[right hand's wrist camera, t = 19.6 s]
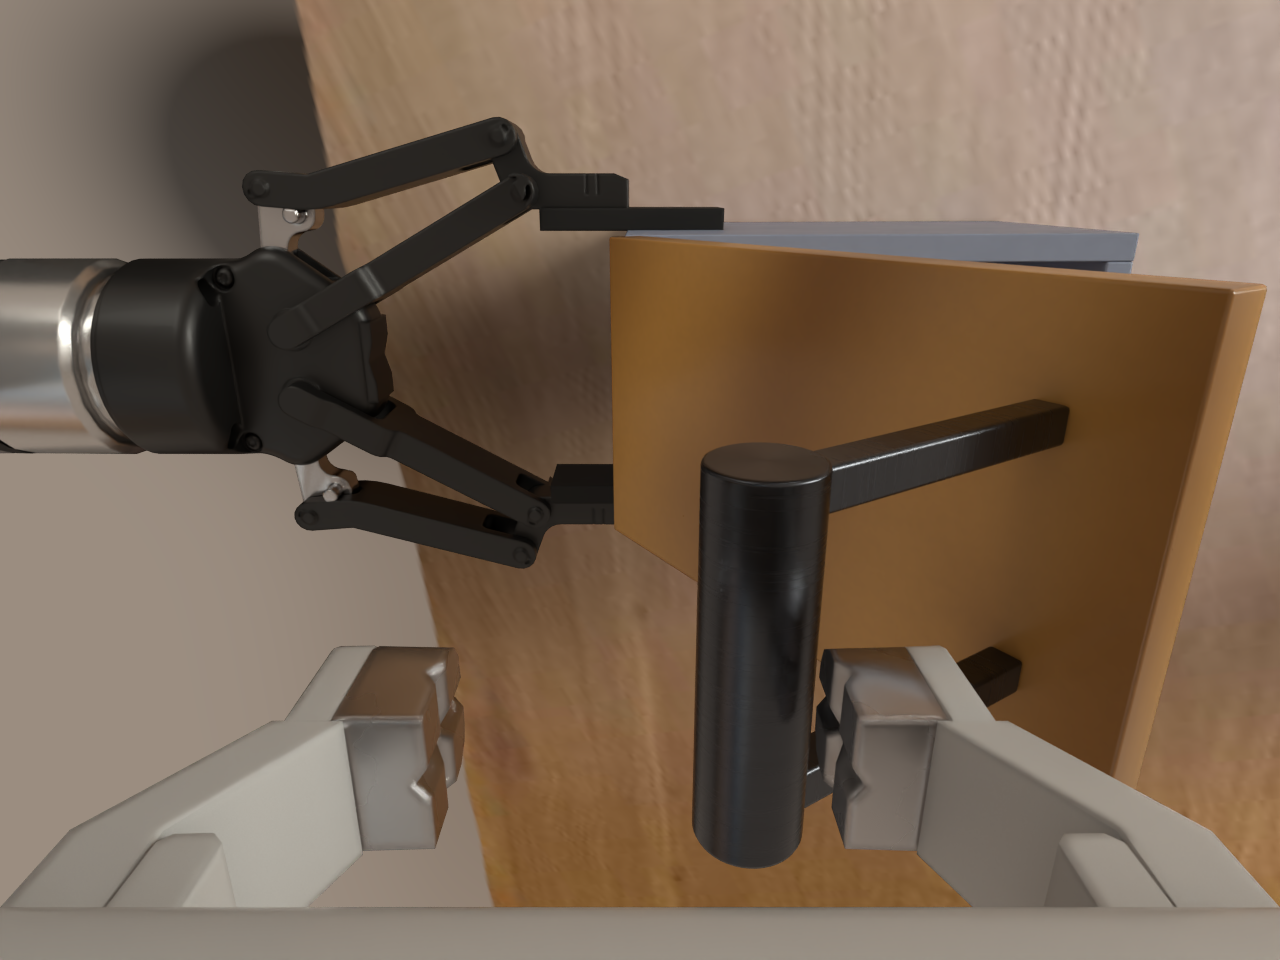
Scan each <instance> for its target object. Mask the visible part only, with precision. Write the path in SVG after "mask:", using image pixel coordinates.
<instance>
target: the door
mask: <svg viewBox="0 0 1280 960" xmlns="http://www.w3.org/2000/svg"><path fill="white" fill-rule="evenodd" d="M1266 291H1267V288H1266V286H1265V285H1263V284H1256V283H1243V282H1230V281H1217V280H1204V279H1191V278H1178V277H1165V276H1152V275H1139V274H1127V273H1114V272H1101V271H1088V270H1075V269H1062V268H1049V267H1036V266H1023V265H1010V264H997V263H984V262H972V261H959V260H946V259H933V258H920V257H907V256H894V255H881V254H868V253H855V252H842V251H829V250H816V249H804V248H791V247H778V246H765V245H752V244H739V243H726V242H713V241H700V240H687V239H674V238H661V237H649V236H621V237H611V238H610V299H611V360H612V421H613V482H614V528H615V530H617V531H618V532H620V533H622V534H623V535H625V536H626V537H628V538H629V539H631V540H632V541H634V542H636V543H637V544H639V545H640V546H642V547H643V548H645V549H646V550H648V551H650V552H651V553H653V554H654V555H656V556H657V557H659V558H660V559H662V560H664V561H665V562H667V563H668V564H670V565H671V566H673V567H674V568H676V569H677V570H679V571H681V572H682V573H684V574H685V575H687V576H688V577H690V578H691V579H693V580H695V581H696V582H698V591H697V633H696V676H695V718H694V760H693V802H692V826H693V830H694V833H695V835H696V837H697V839H698V841H699V842H700V844H701V845H702V846H703V848H704V849H705V850H706V851H707V852H708V853H710V854H711V855H712V856H714V857H715V858H717V859H718V860H720V861H722V862H725V863H727V864H730V865H733V866H736V867H741V868H751V869H757V868H765V867H770V866H773V865H776V864H779V863H781V862H783V861H784V860H786V859H787V858H788V857H790V856H791V855H792V854H793V852H794V851H795V850H796V848H797V847H798V845H799V843H800V841H801V838H802V829H803V817H804V808H806V807H808V806H809V805H811V804H813V803H815V802H817V801H818V800H820V799H822V798H824V797H826V796H828V795H829V794H831V793H833V788H832V787H831V786H829V785H828V784H827V783H826V782H824V781H823V777H822V774H821V771H820V767H819V762H818V757H817V752H816V734H815V732H813V733H811V723H812V711H813V699H814V687H815V675H816V664H817V660H819V661H820V662H821V659H822V655H823V651H824V649H840V648H880V647H912V646H937V645H940V646H942V647H944V648H946V649H947V651H948V652H949V654H950V655H951V656H952V658H953V659H954V661H955V662H956V664H957V665H958V667H959V668H960V670H961V671H962V672H963V674H964V675H965V677H966V678H967V680H968V681H969V683H970V684H971V686H972V687H973V688H974V690H975V691H976V693H977V694H978V696H979V697H980V699H981V700H982V702H983V703H984V704H985V706H986V707H987V709H988V710H989V712H990V713H991V715H992V716H993V717H994V719H995V720H996V721H1009V722H1011V723H1013V724H1015V725H1016V726H1018V727H1020V728H1022V729H1024V730H1026V731H1028V732H1029V733H1031V734H1033V735H1035V736H1037V737H1039V738H1040V739H1042V740H1044V741H1046V742H1048V743H1050V744H1052V745H1053V746H1055V747H1057V748H1059V749H1061V750H1063V751H1064V752H1066V753H1068V754H1070V755H1072V756H1074V757H1076V758H1077V759H1079V760H1081V761H1083V762H1085V763H1087V764H1088V765H1090V766H1092V767H1094V768H1096V769H1098V770H1100V771H1101V772H1103V773H1105V774H1107V775H1109V776H1111V777H1112V778H1114V779H1116V780H1118V781H1120V782H1122V783H1124V784H1125V785H1127V786H1129V787H1131V788H1133V789H1135V790H1136V786H1137V782H1138V779H1139V775H1140V771H1141V767H1142V763H1143V760H1144V756H1145V752H1146V748H1147V744H1148V741H1149V737H1150V733H1151V729H1152V725H1153V721H1154V718H1155V714H1156V710H1157V706H1158V702H1159V699H1160V695H1161V691H1162V687H1163V683H1164V680H1165V676H1166V672H1167V668H1168V664H1169V661H1170V657H1171V653H1172V649H1173V645H1174V642H1175V638H1176V634H1177V630H1178V626H1179V622H1180V619H1181V615H1182V611H1183V607H1184V603H1185V600H1186V596H1187V592H1188V588H1189V584H1190V581H1191V577H1192V573H1193V569H1194V565H1195V562H1196V558H1197V554H1198V550H1199V546H1200V543H1201V539H1202V535H1203V531H1204V527H1205V524H1206V520H1207V516H1208V512H1209V508H1210V504H1211V501H1212V497H1213V493H1214V489H1215V485H1216V482H1217V478H1218V474H1219V470H1220V466H1221V463H1222V459H1223V455H1224V451H1225V447H1226V444H1227V440H1228V436H1229V432H1230V428H1231V425H1232V421H1233V417H1234V413H1235V409H1236V406H1237V402H1238V398H1239V394H1240V390H1241V386H1242V383H1243V379H1244V375H1245V371H1246V367H1247V364H1248V360H1249V356H1250V352H1251V348H1252V345H1253V341H1254V337H1255V333H1256V329H1257V326H1258V322H1259V318H1260V314H1261V310H1262V307H1263V303H1264V299H1265V295H1266Z"/></svg>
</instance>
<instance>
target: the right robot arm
mask: <svg viewBox="0 0 1280 960" xmlns="http://www.w3.org/2000/svg"><path fill="white" fill-rule="evenodd" d="M460 678H461V676H460V667H459V659H458V654H457V652H456V650H455V648H441V647H391V646H390V647H389V646H379V647H376V646H341V647H337V648H334V649H333V650H332V651H331V653H330V654H329V656H328V657H327V659H326V660H325V662H324V663H323V665H322V666H321V668H320V669H319V670H318V672H317V673H316V675H315V676H314V678H313V679H312V681H311V682H310V684H309V685H308V687H307V688H306V690H305V691H304V692H303V694H302V695H301V697H300V698H299V700H298V701H297V703H296V704H295V706H294V707H293V709H292V710H291V712H290V713H289V715H288V716H287V717H286V719H285V720H284V721H271V722H269V723H267V724H266V725H264V726H262V727H260V728H258V729H256V730H254V731H252V732H251V733H249V734H247V735H245V736H243V737H241V738H239V739H238V740H236V741H234V742H232V743H230V744H228V745H226V746H225V747H223V748H221V749H219V750H217V751H215V752H214V753H212V754H210V755H208V756H206V757H204V758H202V759H201V760H199V761H197V762H195V763H193V764H191V765H189V766H188V767H186V768H184V769H182V770H180V771H178V772H176V773H175V774H173V775H171V776H169V777H167V778H165V779H163V780H162V781H160V782H158V783H156V784H154V785H152V786H151V787H149V788H147V789H145V790H143V791H141V792H139V793H138V794H136V795H134V796H132V797H130V798H128V799H126V800H125V801H123V802H121V803H119V804H117V805H115V806H113V807H112V808H110V809H108V810H106V811H104V812H102V813H100V814H99V815H97V816H95V817H93V818H91V819H89V820H87V821H86V822H84V823H82V824H80V825H78V826H76V827H75V828H73V829H71V830H69V832H68V833H67V834H66V835H65V836H64V837H63V838H62V839H61V840H60V842H59V843H58V844H57V845H56V846H55V847H54V848H53V849H52V851H51V852H50V853H49V854H48V855H47V856H46V857H45V858H44V859H43V860H42V862H41V863H40V864H39V865H38V866H37V867H36V868H35V869H34V871H33V872H32V873H31V874H30V875H29V876H28V877H27V878H26V879H25V881H24V882H23V883H22V884H21V885H20V886H19V887H18V888H17V889H16V891H15V892H14V893H13V894H12V895H11V896H10V897H9V898H8V899H7V901H6V902H5V903H4V904H3V905H2V906H1V907H0V960H1280V907H1279V906H1278V905H1277V904H1276V903H1275V901H1274V900H1273V899H1272V898H1271V897H1270V896H1269V895H1268V894H1267V893H1266V891H1265V890H1264V889H1263V888H1262V887H1261V886H1260V885H1259V884H1258V882H1257V881H1256V880H1255V879H1254V878H1253V877H1252V876H1251V875H1250V874H1249V872H1248V871H1247V870H1246V869H1245V868H1244V867H1243V866H1242V865H1241V863H1240V862H1239V861H1238V860H1237V859H1236V858H1235V857H1234V856H1233V854H1232V853H1231V852H1230V851H1229V850H1228V849H1227V848H1226V847H1225V846H1224V844H1223V843H1222V842H1221V841H1220V840H1219V839H1218V838H1217V837H1216V835H1215V834H1214V833H1213V832H1212V831H1210V830H1209V829H1207V828H1205V827H1203V826H1201V825H1199V824H1197V823H1196V822H1194V821H1192V820H1190V819H1188V818H1186V817H1185V816H1183V815H1181V814H1179V813H1177V812H1175V811H1173V810H1172V809H1170V808H1168V807H1166V806H1164V805H1162V804H1161V803H1159V802H1157V801H1155V800H1153V799H1151V798H1149V797H1148V796H1146V795H1144V794H1142V793H1140V792H1138V791H1137V790H1135V789H1133V788H1131V787H1129V786H1127V785H1125V784H1124V783H1122V782H1120V781H1118V780H1116V779H1114V778H1112V777H1111V776H1109V775H1107V774H1105V773H1103V772H1101V771H1100V770H1098V769H1096V768H1094V767H1092V766H1090V765H1088V764H1087V763H1085V762H1083V761H1081V760H1079V759H1077V758H1076V757H1074V756H1072V755H1070V754H1068V753H1066V752H1064V751H1063V750H1061V749H1059V748H1057V747H1055V746H1053V745H1052V744H1050V743H1048V742H1046V741H1044V740H1042V739H1040V738H1039V737H1037V736H1035V735H1033V734H1031V733H1029V732H1028V731H1026V730H1024V729H1022V728H1020V727H1018V726H1016V725H1015V724H1013V723H1011V722H1009V721H996V720H995V719H994V717H993V716H992V715H991V713H990V712H989V710H988V709H987V707H986V706H985V704H984V703H983V702H982V700H981V699H980V697H979V696H978V694H977V693H976V691H975V690H974V688H973V687H972V686H971V684H970V683H969V681H968V680H967V678H966V677H965V675H964V674H963V672H962V671H961V670H960V668H959V667H958V665H957V664H956V662H955V661H954V659H953V658H952V656H951V655H950V654H949V652H948V651H947V649H946V648H944V647H942V646H940V645H937V646H912V647H880V648H840V649H824V651H823V655H822V659H821V666H820V676H819V678H820V680H821V683H822V686H823V689H824V692H825V695H826V697H825V698H824V699H823V700H822V701H821V702H820V703H819V705H818V706H817V709H816V725H815V734H816V752H817V757H818V762H819V767H820V771H821V774H822V777H823V781H824V782H826V783H827V784H828V785H829V786H831V787H832V788H833V798H832V810H833V813H834V816H835V819H836V822H837V825H838V828H839V831H840V834H841V838H842V841H843V844H844V847H845V849H871V850H907V851H917V855H918V856H919V857H920V858H922V859H923V860H924V861H925V862H926V863H927V864H928V865H929V866H930V867H931V868H932V869H933V870H934V871H935V872H936V873H937V874H938V875H939V876H940V877H942V878H943V879H944V880H945V881H946V882H947V883H948V884H949V885H950V886H951V887H952V888H953V889H954V890H955V891H956V892H957V893H958V894H959V895H961V896H962V897H963V898H964V899H965V900H966V901H967V902H968V903H969V904H970V905H971V906H972V907H308V906H309V905H310V904H311V903H312V902H313V901H315V900H316V899H317V898H318V897H319V896H320V895H321V894H322V893H323V892H324V891H325V890H326V889H327V888H328V887H329V886H330V885H331V884H333V883H334V882H335V881H336V880H337V879H338V878H339V877H340V876H341V875H342V874H343V873H344V872H345V871H346V870H347V869H348V868H349V867H350V866H352V865H353V864H354V863H355V862H356V861H357V860H358V859H359V858H360V857H361V856H362V855H363V852H362V851H373V850H408V849H435V847H436V844H437V841H438V838H439V835H440V832H441V828H442V825H443V822H444V819H445V816H446V813H447V810H448V798H447V788H448V787H449V786H451V785H452V784H453V783H454V782H456V781H457V777H458V774H459V770H460V767H461V763H462V756H463V749H464V737H465V721H464V708H463V706H462V705H461V703H460V702H459V701H458V700H457V699H456V698H455V697H454V695H455V692H456V689H457V686H458V683H459V681H460Z"/></svg>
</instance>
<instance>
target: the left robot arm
mask: <svg viewBox="0 0 1280 960" xmlns="http://www.w3.org/2000/svg"><path fill="white" fill-rule="evenodd" d="M490 164H493V165H494V167H495V170H496V172H497V175H498V177H499V180H500V182H499V183H498V184H496V185H494V186H493V187H491V188H490V189H488V190H486V191H485V192H483V193H481V194H480V195H478V196H477V197H475V198H473V199H472V200H470V201H468V202H467V203H465V204H464V205H462V206H460V207H459V208H457V209H455V210H454V211H452V212H451V213H449V214H447V215H446V216H444V217H442V218H441V219H439V220H437V221H436V222H434V223H433V224H431V225H429V226H428V227H426V228H424V229H423V230H421V231H420V232H418V233H416V234H415V235H413V236H411V237H410V238H408V239H407V240H405V241H403V242H402V243H400V244H398V245H397V246H395V247H394V248H392V249H390V250H389V251H387V252H385V253H384V254H382V255H381V256H379V257H377V258H376V259H374V260H372V261H371V262H369V263H367V264H366V265H364V266H361V267H359V268H357V269H356V270H354V271H352V272H350V273H349V274H347V275H345V276H344V277H342V278H341V277H340V276H338V275H337V274H335V273H334V272H333V271H331V270H330V269H328V268H327V267H325V266H324V265H322V264H321V263H319V262H318V261H316V260H315V259H313V258H312V257H311V256H309V255H308V254H306V253H305V252H303V251H302V250H300V249H298V240H299V238H300V236H301V235H302V234H303V233H305V232H307V231H312V230H316V229H318V228H319V227H320V226H321V225H322V223H323V221H324V209H333V208H343V207H348V206H352V205H357V204H360V203H363V202H367V201H370V200H373V199H377V198H380V197H383V196H387V195H390V194H393V193H397V192H400V191H403V190H407V189H410V188H413V187H417V186H420V185H423V184H427V183H430V182H433V181H437V180H440V179H443V178H447V177H450V176H453V175H457V174H460V173H463V172H467V171H470V170H473V169H477V168H480V167H483V166H487V165H490ZM242 188H243V192H244V195H245V196H246V198H247V199H248V200H249V201H250V202H251V203H253V204H254V205H257V206H258V216H259V229H260V241H261V248H259V249H256V250H255V251H253V252H252V253H250V254H249V255H247V256H245V257H243V258H238V259H137V260H133V261H131V262H129V263H127V262H125V261H122V260H119V259H7V260H0V453H90V454H138V453H141V452H144V451H150V452H153V453H158V454H248V453H265V454H269V455H273V456H276V457H278V458H280V459H282V460H284V461H286V462H288V463H291V464H294V465H295V468H296V473H297V477H298V481H299V485H300V489H301V493H302V497H303V503H302V504H300V505H299V506H298V507H297V509H296V511H295V520H296V522H297V524H298V525H299V526H300V527H302V528H304V529H306V530H312V531H314V530H327V529H341V528H357V529H361V530H365V531H369V532H374V533H377V534H381V535H385V536H390V537H393V538H397V539H402V540H406V541H410V542H414V543H418V544H422V545H426V546H430V547H434V548H438V549H442V550H446V551H450V552H454V553H458V554H463V555H467V556H471V557H475V558H479V559H483V560H487V561H491V562H495V563H499V564H503V565H507V566H511V567H515V568H523V569H524V568H527V567H530V566H531V565H532V564H533V563H534V561H535V559H536V556H537V553H538V550H539V547H540V544H541V541H542V539H543V536H544V534H545V532H546V531H547V530H548V529H549V528H550V527H552V526H554V525H558V524H614V482H613V464H557V466H556V470H555V473H554V476H553V478H552V477H551V476H550V478H549V481H548V482H547V481H545V480H543V479H541V478H539V477H537V476H535V475H533V474H531V473H529V472H527V471H526V470H524V469H522V468H520V467H518V466H516V465H514V464H512V463H510V462H508V461H506V460H504V459H502V458H500V457H498V456H496V455H494V454H492V453H490V452H488V451H486V450H485V449H483V448H481V447H479V446H477V445H475V444H473V443H471V442H469V441H467V440H465V439H463V438H461V437H459V436H457V435H455V434H453V433H451V432H449V431H447V430H446V429H444V428H442V427H440V426H438V425H436V424H434V423H432V422H430V421H428V420H426V419H424V418H422V417H420V416H419V415H417V414H416V412H415V411H414V409H412V408H411V407H410V406H408V405H406V404H404V403H402V402H400V401H398V400H396V399H394V398H392V397H390V396H389V394H390V393H392V392H393V391H394V388H393V379H392V372H391V369H390V366H389V364H388V361H387V359H386V356H385V347H386V341H387V335H388V332H387V323H386V315H381V314H380V311H379V309H378V308H377V306H376V304H377V303H379V302H380V301H382V300H384V299H385V298H387V297H389V296H390V295H392V294H394V293H395V292H397V291H399V290H400V289H402V288H403V287H404V286H406V285H407V284H409V283H411V282H412V281H414V280H416V279H417V278H419V277H421V276H422V275H424V274H426V273H427V272H429V271H431V270H432V269H434V268H436V267H437V266H439V265H441V264H442V263H444V262H446V261H447V260H449V259H451V258H452V257H454V256H456V255H457V254H459V253H461V252H462V251H464V250H465V249H467V248H469V247H470V246H472V245H474V244H475V243H477V242H479V241H480V240H482V239H484V238H485V237H487V236H489V235H490V234H492V233H494V232H495V231H497V230H499V229H500V228H502V227H504V226H505V225H507V224H509V223H510V222H512V221H514V220H515V219H517V218H519V217H520V216H522V215H524V214H525V213H527V212H529V211H530V210H532V209H539V213H540V231H628V230H724V208H719V207H629V180H628V179H626V178H624V177H621V176H619V175H617V174H614V173H599V174H597V173H588V174H585V173H545V172H542V171H541V170H540V169H538V168H537V166H536V165H535V164H534V162H533V160H532V158H531V155H530V153H529V150H528V147H527V145H526V142H525V136H524V134H523V132H522V130H521V129H520V128H519V127H518V126H517V125H515V124H514V123H512V122H510V121H508V120H506V119H504V118H501V117H493V118H489V119H486V120H483V121H480V122H476V123H473V124H470V125H466V126H463V127H460V128H457V129H453V130H450V131H447V132H444V133H440V134H437V135H434V136H430V137H427V138H424V139H421V140H417V141H414V142H411V143H408V144H404V145H401V146H398V147H394V148H391V149H388V150H385V151H381V152H378V153H375V154H372V155H368V156H365V157H362V158H358V159H355V160H352V161H349V162H345V163H342V164H339V165H336V166H332V167H329V168H326V169H323V170H319V171H316V172H313V173H309V174H305V173H293V172H279V171H262V170H256V171H251V172H249V173H248V174H246V176H245V178H244V179H243V184H242ZM344 441H346V442H348V443H350V444H352V445H354V446H356V447H358V448H360V449H362V450H364V451H366V452H368V453H370V454H372V455H375V456H379V457H389V458H392V459H394V460H396V461H398V462H400V463H402V464H404V465H406V466H408V467H410V468H412V469H414V470H416V471H418V472H420V473H422V474H424V475H426V476H428V477H430V478H432V479H434V480H436V481H438V482H440V483H442V484H444V485H446V486H448V487H450V488H452V489H454V490H456V491H458V492H460V493H462V494H464V495H466V496H468V497H470V498H472V499H474V500H476V501H478V502H480V503H482V504H484V505H486V506H488V507H490V508H492V509H494V510H491V509H487V508H483V507H479V506H475V505H471V504H467V503H463V502H459V501H455V500H451V499H447V498H443V497H439V496H435V495H431V494H427V493H423V492H419V491H416V490H412V489H408V488H404V487H400V486H395V485H392V484H387V483H382V482H378V481H367V480H361V481H358V480H357V476H356V474H355V473H354V472H353V471H350V470H345V469H340V468H337V467H335V466H333V465H332V464H331V463H330V462H329V460H328V458H327V454H328V453H329V452H331V451H332V450H333V449H335V448H336V447H337V446H339V445H340V444H341V443H343V442H344ZM495 510H496V511H495Z"/></svg>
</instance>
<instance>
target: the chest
mask: <svg viewBox="0 0 1280 960" xmlns="http://www.w3.org/2000/svg"><path fill="white" fill-rule="evenodd" d="M625 236H649V237H661V238H674V239H687V240H700V241H713V242H726V243H739V244H752V245H765V246H778V247H791V248H804V249H816V250H829V251H842V252H855V253H868V254H881V255H894V256H907V257H920V258H933V259H946V260H959V261H972V262H984V263H997V264H1010V265H1023V266H1036V267H1049V268H1062V269H1075V270H1088V271H1101V272H1114V273H1127V274H1131V269H1132V262H1131V261H1133V260H1134V256H1135V251H1136V247H1137V242H1138V237H1139V234H1138V233H1130V232H1118V231H1107V230H1095V229H1083V228H1071V227H1059V226H1048V225H1036V224H1024V223H1012V222H1000V221H927V222H724V230H628V231H627V233H626V235H625Z"/></svg>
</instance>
